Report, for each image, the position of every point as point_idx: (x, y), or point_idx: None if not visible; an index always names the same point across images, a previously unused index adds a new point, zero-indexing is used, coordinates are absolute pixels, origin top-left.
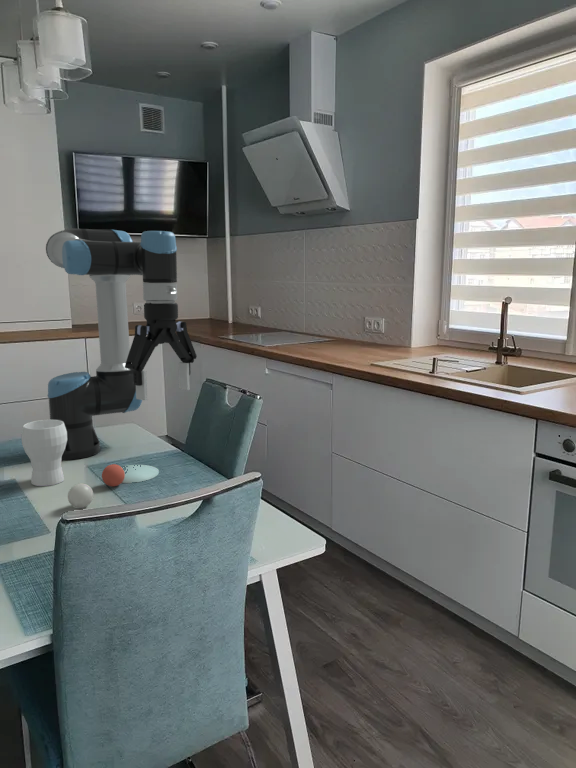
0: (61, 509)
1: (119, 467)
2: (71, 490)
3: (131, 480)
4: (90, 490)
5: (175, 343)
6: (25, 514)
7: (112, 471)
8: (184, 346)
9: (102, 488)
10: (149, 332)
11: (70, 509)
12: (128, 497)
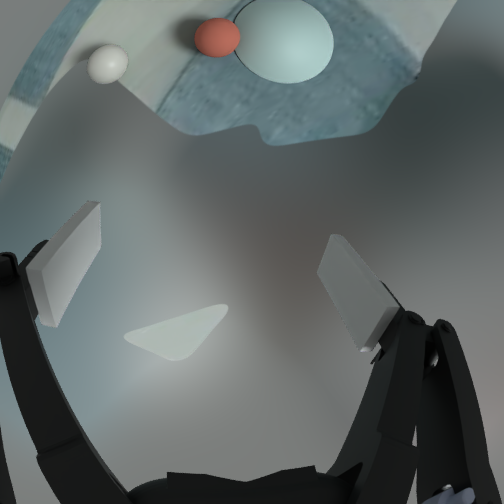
0: None
1: (220, 45)
2: (88, 60)
3: (250, 55)
4: (108, 78)
5: (333, 466)
6: (68, 27)
7: (202, 43)
8: (437, 390)
9: None
10: None
11: None
12: (179, 99)
